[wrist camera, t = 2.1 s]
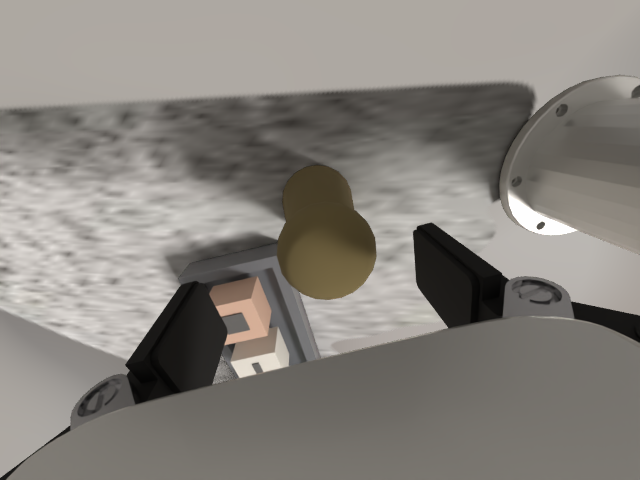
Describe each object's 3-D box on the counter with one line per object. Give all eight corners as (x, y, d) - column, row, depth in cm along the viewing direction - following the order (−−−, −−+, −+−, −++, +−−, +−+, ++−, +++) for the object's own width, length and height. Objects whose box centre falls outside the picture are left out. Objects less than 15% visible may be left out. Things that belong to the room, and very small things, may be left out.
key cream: (277, 326, 24) (274, 353, 21) (289, 354, 26) (287, 382, 23) (238, 335, 24) (229, 362, 21) (252, 362, 26) (246, 391, 23)
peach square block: (257, 276, 21) (250, 299, 19) (271, 310, 23) (267, 336, 20) (213, 286, 22) (199, 310, 19) (230, 319, 23) (220, 347, 21)
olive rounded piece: (267, 194, 21) (235, 260, 11) (324, 149, 20) (347, 177, 10) (310, 244, 23) (316, 336, 13) (364, 206, 22) (416, 276, 12)
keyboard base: (282, 241, 23) (280, 254, 21) (325, 373, 31) (327, 393, 29) (189, 263, 23) (177, 278, 21) (256, 388, 31) (253, 408, 29)
